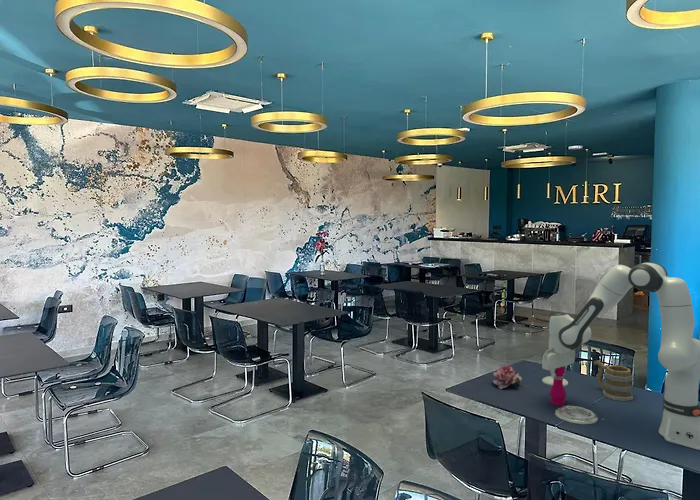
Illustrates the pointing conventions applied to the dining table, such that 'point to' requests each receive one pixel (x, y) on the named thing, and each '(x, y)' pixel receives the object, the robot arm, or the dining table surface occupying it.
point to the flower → (506, 377)
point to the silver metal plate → (576, 415)
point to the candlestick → (550, 380)
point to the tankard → (615, 382)
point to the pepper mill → (558, 388)
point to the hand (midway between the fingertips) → (558, 376)
